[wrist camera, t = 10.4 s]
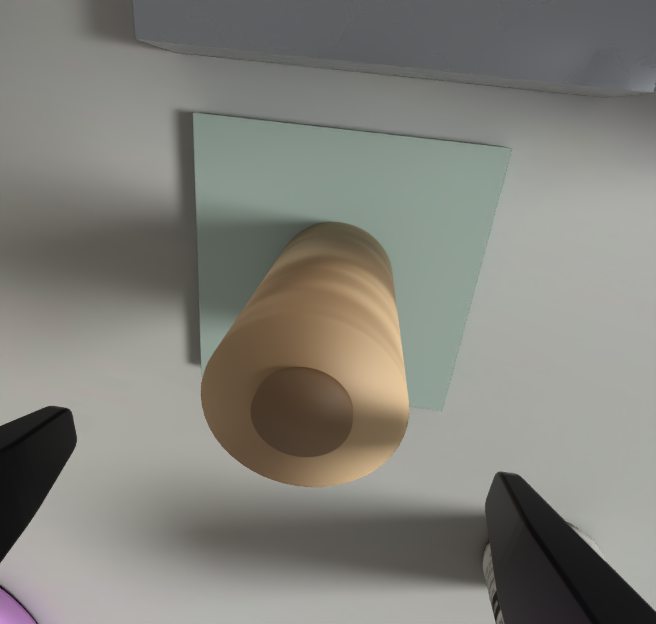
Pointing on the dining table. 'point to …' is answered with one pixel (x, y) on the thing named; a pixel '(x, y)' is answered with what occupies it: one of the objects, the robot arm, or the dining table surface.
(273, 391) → the oak plug
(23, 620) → the teapot
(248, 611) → the dining table surface
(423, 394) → the rubber mat
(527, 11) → the socket block
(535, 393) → the dining table surface
